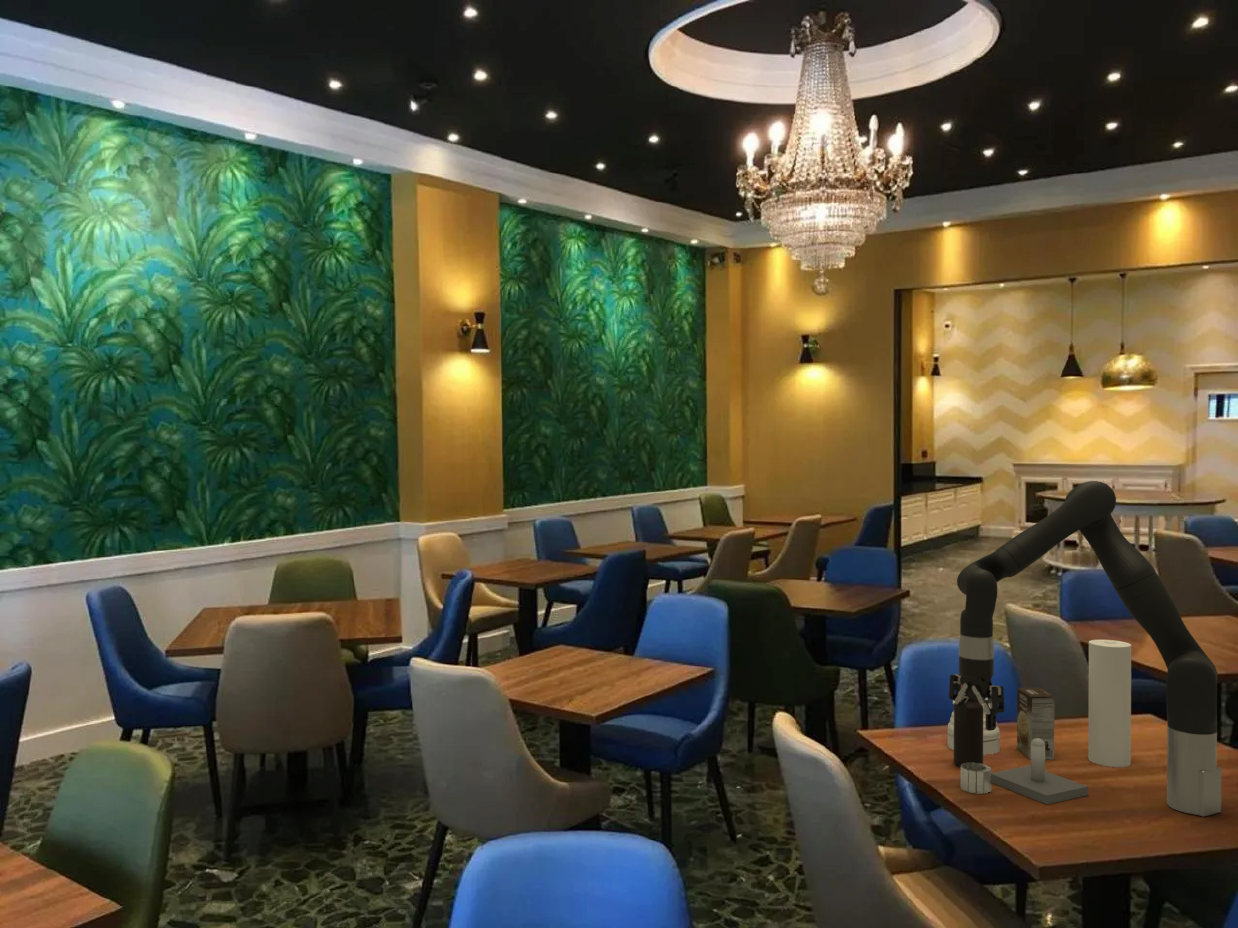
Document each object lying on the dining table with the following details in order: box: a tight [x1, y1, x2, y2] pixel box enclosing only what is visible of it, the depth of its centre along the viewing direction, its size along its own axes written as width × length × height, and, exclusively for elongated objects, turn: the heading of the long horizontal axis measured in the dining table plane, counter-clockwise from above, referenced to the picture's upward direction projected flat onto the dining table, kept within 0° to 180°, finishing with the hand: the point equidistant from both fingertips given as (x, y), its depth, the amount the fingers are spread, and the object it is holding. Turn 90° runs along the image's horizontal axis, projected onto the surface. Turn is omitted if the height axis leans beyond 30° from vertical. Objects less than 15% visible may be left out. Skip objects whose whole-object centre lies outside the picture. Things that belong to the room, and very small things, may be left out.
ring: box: [960, 763, 992, 795], centre depth 218 cm, size 6×6×5 cm
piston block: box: [991, 738, 1089, 805], centre depth 219 cm, size 16×13×12 cm
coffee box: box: [1016, 687, 1056, 760], centre depth 243 cm, size 9×6×16 cm
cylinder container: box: [1087, 639, 1132, 768], centre depth 238 cm, size 9×9×30 cm
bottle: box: [953, 685, 984, 768], centre depth 235 cm, size 7×7×20 cm
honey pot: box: [946, 698, 1001, 756], centre depth 249 cm, size 13×13×18 cm
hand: (975, 725), depth 218 cm, fingers open, 8 cm apart
